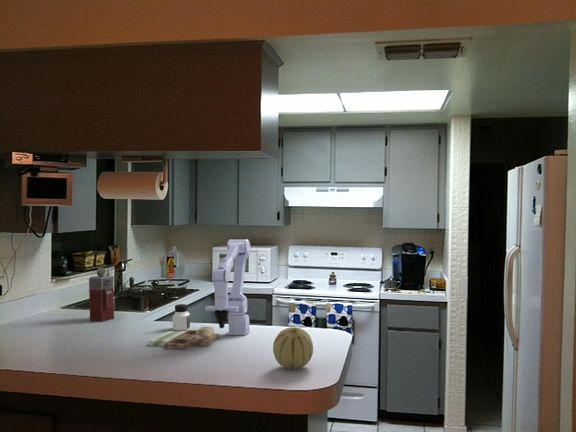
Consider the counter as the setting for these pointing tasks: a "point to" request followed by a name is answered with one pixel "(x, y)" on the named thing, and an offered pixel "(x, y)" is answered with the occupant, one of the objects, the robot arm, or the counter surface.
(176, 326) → the medicine bottle
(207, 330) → the birch block
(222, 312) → the robot arm
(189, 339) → the trap board
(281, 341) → the cantaloupe
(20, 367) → the counter surface
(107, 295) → the red liquid decanter
